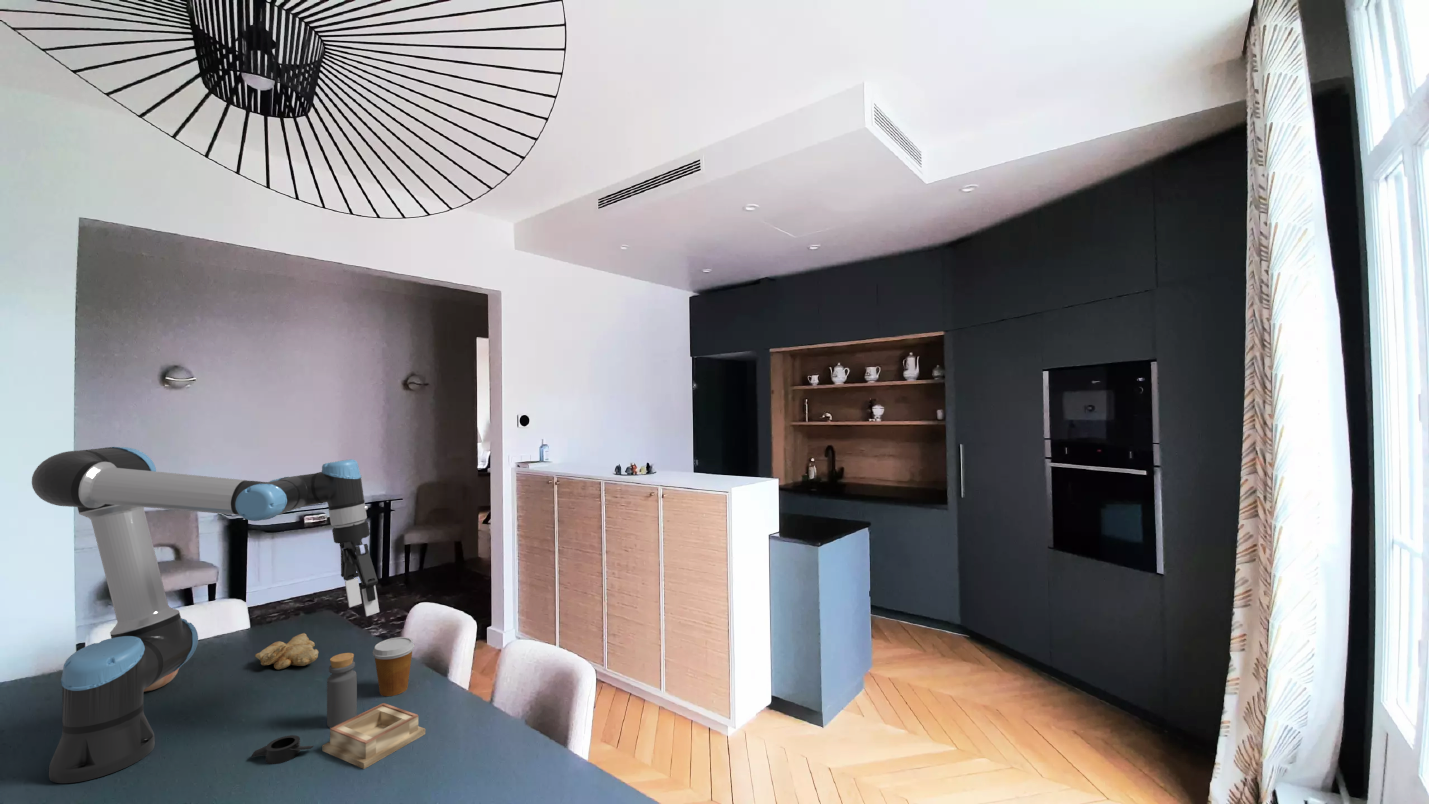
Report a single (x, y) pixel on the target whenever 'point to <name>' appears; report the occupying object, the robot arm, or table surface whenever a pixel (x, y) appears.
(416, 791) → the table surface
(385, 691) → the disposable coffee cup
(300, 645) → the ginger root
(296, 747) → the dark winged oval cup
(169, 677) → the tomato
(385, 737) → the holder block
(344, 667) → the bottle
